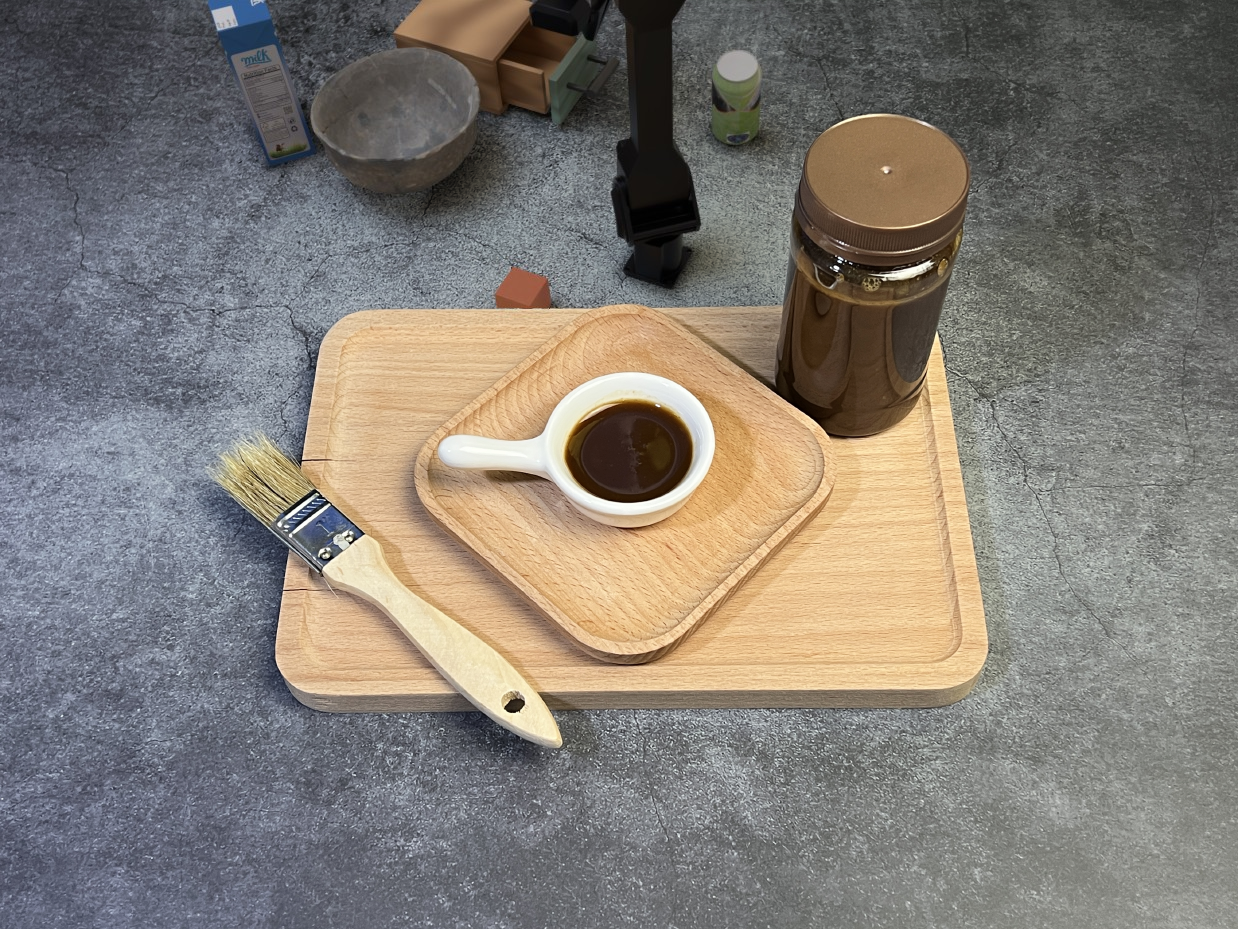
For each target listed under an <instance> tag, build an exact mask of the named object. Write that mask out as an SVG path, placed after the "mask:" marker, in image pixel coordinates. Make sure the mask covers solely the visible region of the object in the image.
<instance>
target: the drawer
mask: <svg viewBox="0 0 1238 929" xmlns="http://www.w3.org/2000/svg"><path fill="white" fill-rule="evenodd" d="M597 42H598V40H597V37H596V38H595V39H594V40H593V41H589V40H586V39H585V37H584V35H583V33H582V32H581V33H580V36H579V37H578V35H577V36H573V37H570V36H567V35H563V34H560V33H556V32H552V31H549V30H545V29H542V28H538V27H534V26H532V24H531V22H530V20H529V21H528V23H527V24H526V25H525V27H524V28H523V29H522V30H521V32H520V33H519V34H518V35H517V37H516V38H515V39H514V40H513V42H512V43H511V44H510V45H509V47H508V48H507V49H506V50H505V52H504V53H503V54H502V55H501V57H500V58H499V59H498V60H497V62H496V65H497V72H498V79H499V86H500V93H501V100H502V102H506V103H509V105H513V106H516V107H519V108H523V109H527V110H529V111H534V112H536V113H540V114H543V115H547V113H549V110H550V112H551V113H550V114H551V122H552V123H553V124H557V125H562V123H563V122H564V121H565V119H566V118H567V116H568V115H569V113H570V112H572V109H573V108H574V106H576V103H578V101H579V100H580V98H581V97H582V96H583V94H584V95H586V96H587V98H588V99H590V100H596V99H597V98H598V97H599V95H600V94H601V92H602V91H603V89H605V86H606V85H607V84H608V82H609V81H610V80H611V79H612V77H613V75H614V74H615V72H616V71H617V70H618V68H619V67H620V64H621V63H620V60H619V59H618V58H617V57H615V56H610V57H609V58H606V57H605V58H604V57H602V56H598V43H597ZM599 65H603V67H602V69H601V70H600V71H599Z"/></svg>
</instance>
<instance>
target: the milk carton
mask: <svg viewBox="0 0 1238 929" xmlns="http://www.w3.org/2000/svg"><path fill="white" fill-rule="evenodd" d="M206 1H207V4H208V8H209V12H210V15H211V17H212V21H213V23H214V24H213V25H214V26H215V30H216V33H217V36H218V38H219V41H220V43H221V46H222V48H223V50H224V53H225V56H226V59H227V61H228V64H229V66H230V69H231V71H232V74H233V77H234V79H235V82H236V84H237V88H238V90H239V92H240V95H241V97H242V100H243V102H244V105H245V108H246V110H247V113H248V116H249V118H250V121H251V123H252V125H253V128H254V131H255V133H256V136H257V140H258V141H259V143H260V146H261V149H262V152H263V155H264V156H265V159H266V162H267V165H268V167H269V168H270V167H274V166H278V165H281V164H284V163H288V162H292V161H295V160H298V159H303V158H306V157H309V156H313V155H317V150H316V148H315V145H314V142H313V139H312V136H311V132H310V129H309V126H308V124H307V120H306V118H305V115H304V111H303V109H302V106H301V103H300V100H299V97H298V94H297V90H296V87H295V84H294V81H293V79H292V76H291V73H290V70H289V66H288V64H287V61H286V58H285V55H284V52H283V49H282V46H281V43H280V40H279V37H278V34H277V31H276V28H275V25H274V22H273V19H272V17H271V14H270V10H269V9H268V6H267V3H266V0H206Z"/></svg>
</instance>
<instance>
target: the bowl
mask: <svg viewBox="0 0 1238 929" xmlns="http://www.w3.org/2000/svg"><path fill="white" fill-rule="evenodd" d="M480 103H481V96H480V90H479V88H478V83H477V81H476V79H475V78H474V76H473V75H472V74H471V73H470V71H469V70H468V68H467V67H466V66H464V65H463V64H462V63H460V62H459V61H457V60H455V59H453V58H452V57H450V56H449V55H447V54H444V53H441V52H438V51H434V50H430V49H427V48H418V47H415V48H400V49H397V48H393V49H388V50H382V51H380V52H375V53H371V54H369V56H368V55H366V56H363V57H361V58H359V59H357V60H355V61H353V62H351V63H349V64H348V65H346V66H343V68H341V69H339V70H338V71H336V72H334V73H332V74H331V75H330V76H329V77H328V78H327V79H326V80H324V82H323V83H322V85H321V86H320V87H319V90H318V91H317V93H316V95H315V96H314V98H313V102H312V104H311V107H310V123H311V129H312V130H313V132H314V134H315V135H316V137H317V138H318V140H319V141H320V142H321V144H322V145H323V147H324V150H325V152H326V155H327V157H328V161H329V162H330V164H331V165H332V166H333V167H334V168H335V169H336V171H338V172H339V173H340V174H341V175H342V176H343V177H344V178H346V179H347V180H348V181H350V183H351V184H353V185H354V186H355V187H359V188H362V189H365V190H368V191H372V192H376V193H379V194H385V195H392V196H396V195H397V196H402V195H404V196H405V195H408V194H414V193H417V192H421V191H424V190H426V189H429V188H431V187H433V186H435V185H436V184H438V183H440V182H442V181H443V180H444V179H446V178H447V177H449V176H450V175H451V174H452V173H454V171H456V170H457V169H458V168H459V166H461V164H462V163H463V162H464V160H465V159H466V158H467V157H468V156H469V154H470V153H471V151H472V150H473V147H474V145H475V142H476V140H477V136H478V129H479V123H478V121H477V118H478V115H479V112H480Z"/></svg>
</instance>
